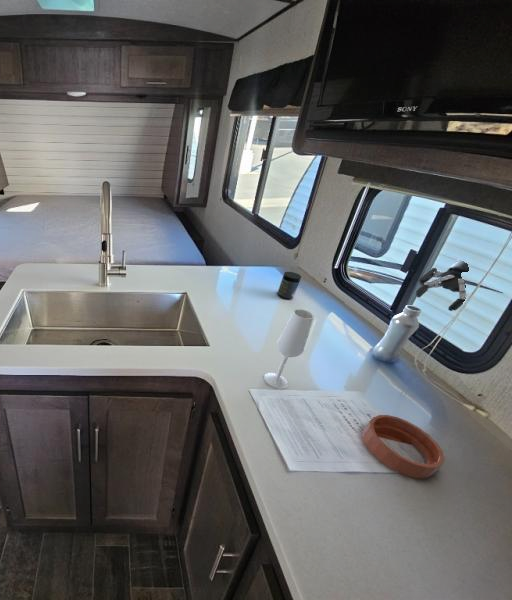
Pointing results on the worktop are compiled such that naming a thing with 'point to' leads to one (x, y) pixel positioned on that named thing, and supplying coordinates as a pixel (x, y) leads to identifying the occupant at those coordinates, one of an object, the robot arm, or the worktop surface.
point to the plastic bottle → (397, 334)
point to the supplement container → (288, 285)
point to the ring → (405, 434)
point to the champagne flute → (291, 344)
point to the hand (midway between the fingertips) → (433, 302)
